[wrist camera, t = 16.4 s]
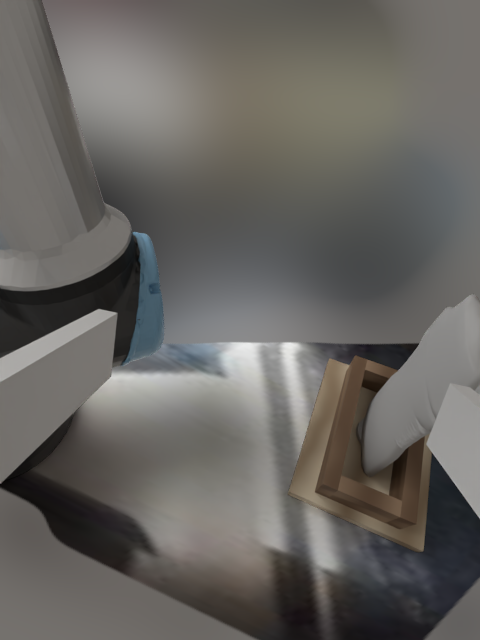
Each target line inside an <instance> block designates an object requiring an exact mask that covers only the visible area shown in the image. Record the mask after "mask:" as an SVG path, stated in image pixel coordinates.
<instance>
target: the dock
mask: <svg viewBox="0 0 480 640" xmlns="http://www.w3.org/2000/svg"><path fill="white" fill-rule="evenodd" d="M396 372H398V370H395V369H392V368H390V367H387V366H384V365H381V364H378V363H375V362H373V361H370V360H367V359H364V358H361V357H358V356H355V357H354V359H353V360H352V362H351V364H350V365H347V364H344V363H341V362H338V361H336V360H333V359H329V361H328V363H327V366H326V369H325V373H324V376H323V379H322V383H321V386H320V389H319V393H318V396H317V399H316V402H315V406H314V409H313V412H312V416H311V419H310V422H309V426H308V429H307V432H306V435H305V439H304V442H303V445H302V449H301V452H300V455H299V459H298V462H297V465H296V468H295V472H294V475H293V478H292V482H291V485H290V488H289V492H288V495H290V496H292V497H294V498H297V499H299V500H301V501H303V502H306V503H308V504H310V505H312V506H314V507H317V508H319V509H321V510H323V511H326V512H328V513H330V514H332V515H335V516H337V517H339V518H341V519H344V520H346V521H348V522H350V523H352V524H355V525H357V526H359V527H361V528H364V529H366V530H368V531H370V532H373V533H375V534H377V535H379V536H381V537H384V538H386V539H388V540H390V541H393V542H395V543H397V544H399V545H402V546H404V547H406V548H408V549H410V550H413V551H415V552H423V551H424V540H425V528H426V516H427V504H428V492H429V480H430V468H431V456H432V452H431V450H430V449H429V448H428V446H427V445H426V443H427V441H428V438H429V436H430V434H428V435H426V436H424V437H422V438H420V439H419V440H418V441H417V442H415V443H413V444H412V445H411V446H409V447H408V448H407V449H405V451H404V452H403V453H402V454H401V455H400V457H399V458H398V459H396V460H395V461H394V462H392V463H391V464H390V465H388V466H387V467H386V468H384V469H383V470H381V471H380V472H378V473H377V474H376V475H374V476H372V477H368V476H367V475H366V474H365V473H364V471H363V469H362V466H361V444H360V442H359V441H358V438H357V435H356V428H357V425H358V424H359V423H360V421H361V420H362V419H363V418H364V417H365V415H366V412H367V409H368V405H369V403H370V401H371V400H372V399H373V398H374V397H375V395H376V394H377V393H378V392H379V391H380V389H381V388H382V387H383V386H384V385H385V383H386V382H387V381H388V380H389V379H390V377H391V376H392V375H394V374H395V373H396Z"/></svg>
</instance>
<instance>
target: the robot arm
mask: <svg viewBox="0 0 480 640" xmlns="http://www.w3.org/2000/svg"><path fill="white" fill-rule="evenodd" d="M159 288H160V283H159V273H158V266H157V261H156V256H155V252H154V248H153V245H152V242H151V239H150V238H149V236H148V235H146V234H143V233H136V232H133V233H132V230H131V226H130V223H129V221H128V219H127V218H126V216H125V215H123V213H121V212H120V211H119V210H117V209H115V208H113V207H111V206H109V205H107V204H105V203H104V202H103V199H102V196H101V193H100V189H99V186H98V183H97V179H96V176H95V173H94V169H93V166H92V163H91V160H90V157H89V153H88V150H87V146H86V143H85V140H84V137H83V133H82V130H81V127H80V124H79V120H78V117H77V114H76V111H75V108H74V104H73V101H72V97H71V94H70V91H69V87H68V84H67V81H66V78H65V75H64V71H63V68H62V65H61V62H60V58H59V55H58V52H57V48H56V45H55V42H54V39H53V35H52V32H51V28H50V25H49V22H48V19H47V15H46V12H45V9H44V6H43V2H42V0H0V484H1V483H2V482H3V481H4V480H8V479H11V478H13V477H16V476H18V475H20V474H22V473H24V472H26V471H28V470H30V469H31V468H33V467H34V466H36V465H37V464H38V463H40V462H41V461H42V460H43V459H45V458H46V457H47V456H48V455H49V454H50V453H51V452H52V451H53V450H54V449H55V448H56V446H57V445H58V444H59V443H60V441H61V440H62V438H63V437H64V435H65V433H66V432H67V430H68V428H69V425H70V423H71V420H72V417H73V413H74V412H75V411H76V410H77V409H78V408H79V407H80V406H81V405H82V404H83V403H84V402H85V401H86V400H87V399H88V398H89V397H90V396H91V395H92V394H93V393H94V392H95V391H97V390H98V389H99V388H100V387H101V386H102V385H103V384H104V383H105V382H106V381H107V380H108V379H109V378H110V377H111V372H112V368H113V367H117V366H124V365H126V364H128V363H129V362H131V361H134V360H138V359H141V358H144V357H147V356H150V355H152V354H154V353H156V352H157V351H158V350H159V348H160V347H161V345H162V343H163V339H164V314H163V302H162V295H161V291H160V289H159ZM426 445H427V446H428V448H429V449H430V450H431V452H432V453H433V454H434V456H435V457H436V459H437V460H438V461H439V463H440V464H441V466H442V467H443V468H444V470H445V471H446V473H447V474H448V475H449V477H450V478H451V479H452V481H453V482H454V484H455V485H456V486H457V488H458V489H459V491H460V492H461V493H462V495H463V496H464V497H465V499H466V500H467V502H468V503H469V504H470V506H471V507H472V509H473V510H474V511H475V513H476V514H477V516H478V517H479V518H480V395H479V394H478V393H476V392H475V391H474V390H473V389H471V388H470V387H466V386H461V385H457V384H452V383H450V385H449V387H448V390H447V392H446V395H445V397H444V400H443V402H442V405H441V408H440V410H439V413H438V415H437V418H436V420H435V423H434V425H433V428H432V430H431V433H430V436H429V438H428V441H427V443H426Z"/></svg>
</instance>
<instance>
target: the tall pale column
mask: <svg viewBox="0 0 480 640" xmlns="http://www.w3.org/2000/svg"><path fill="white" fill-rule="evenodd" d="M450 383H452V384H457V385H461V386H466V387H470V388H471V389H473V390H474V391H475V390H476V388H477V387H478V386H479V385H480V300H479V299H478V297H477V296H475V295H470V296H468V297H467V298H466V299H465V300H464V301H462V302H461V303H460V304H458V305H457V306H456V307H454V308H453V307H448V308H446V309H445V310H444V311H443V312H442V314H441V315H440V316H439V317H438V318H437V319H436V320H435V322H434V323H433V324H432V325H431V326H430V327H429V329H428V330H427V331H426V333H425V334H424V335H423V338H422V340H421V342H420V344H419V346H418V347H417V349H416V350H415V351H414V353H413V354H412V355H411V356H410V358H409V359H408V360H407V362H406V363H405V364H404V365H403V366H402V367H401V368H400V370H399V371H398V372H396V373H395V374H394V375H392V376H391V377H390V379H389V380H388V381H387V382H386V383H385V385H384V386H383V387H382V388H381V389H380V391H379V392H378V393H377V394H376V395H375V397H374V398H373V399H372V400H371V401H370V403H369V405H368V409H367V412H366V415H365V417H364V418H363V419H362V420H361V421H360V423H359V424H358V425H357V428H356V435H357V438H358V441H359V442H360V444H361V466H362V469H363V471H364V473H365V474H366V475H367V476H368V477H372V476H374V475H376V474H377V473H378V472H380V471H381V470H383V469H384V468H386V467H387V466H388V465H390V464H391V463H392V462H394V461H395V460H396V459H398V458H399V457H400V455H401V454H402V453H403V452H404V451H405V449H407V448H408V447H409V446H411V445H412V444H413V443H415V442H417V441H418V440H419V439H420V438H422V437H424V436H426V435H428V434H430V433H431V430H432V428H433V425H434V423H435V420H436V418H437V415H438V413H439V410H440V408H441V405H442V402H443V400H444V397H445V395H446V392H447V390H448V387H449V385H450Z"/></svg>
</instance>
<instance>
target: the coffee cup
mask: <svg viewBox="0 0 480 640" xmlns="http://www.w3.org/2000/svg"><path fill="white" fill-rule="evenodd" d="M475 392H476V393H478V394H479V395H480V385H479V386H478V387H477V388H476V390H475Z"/></svg>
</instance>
